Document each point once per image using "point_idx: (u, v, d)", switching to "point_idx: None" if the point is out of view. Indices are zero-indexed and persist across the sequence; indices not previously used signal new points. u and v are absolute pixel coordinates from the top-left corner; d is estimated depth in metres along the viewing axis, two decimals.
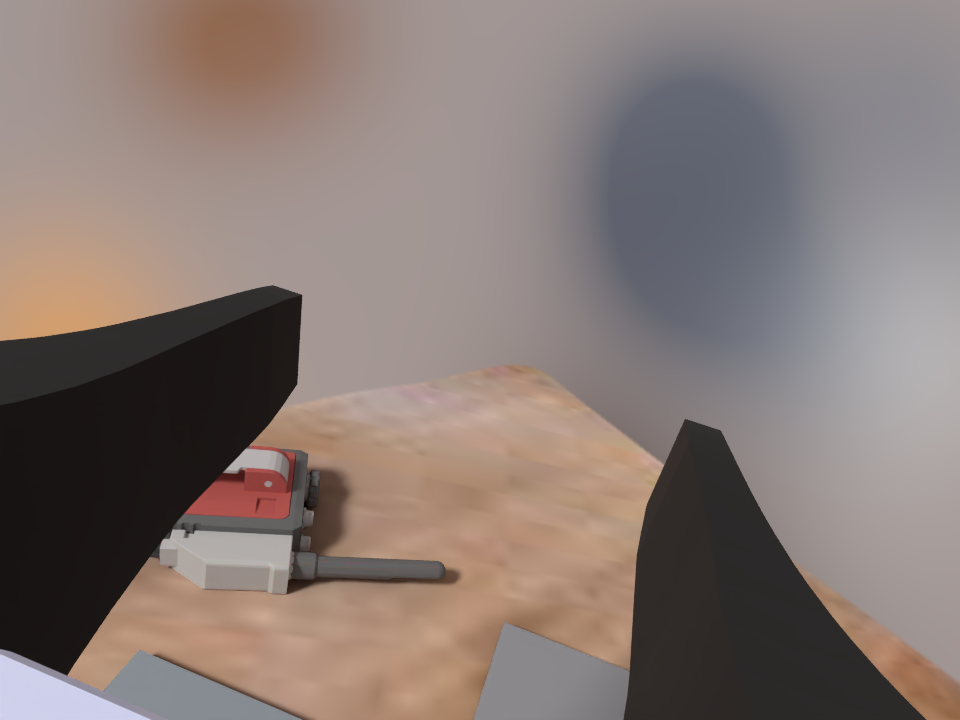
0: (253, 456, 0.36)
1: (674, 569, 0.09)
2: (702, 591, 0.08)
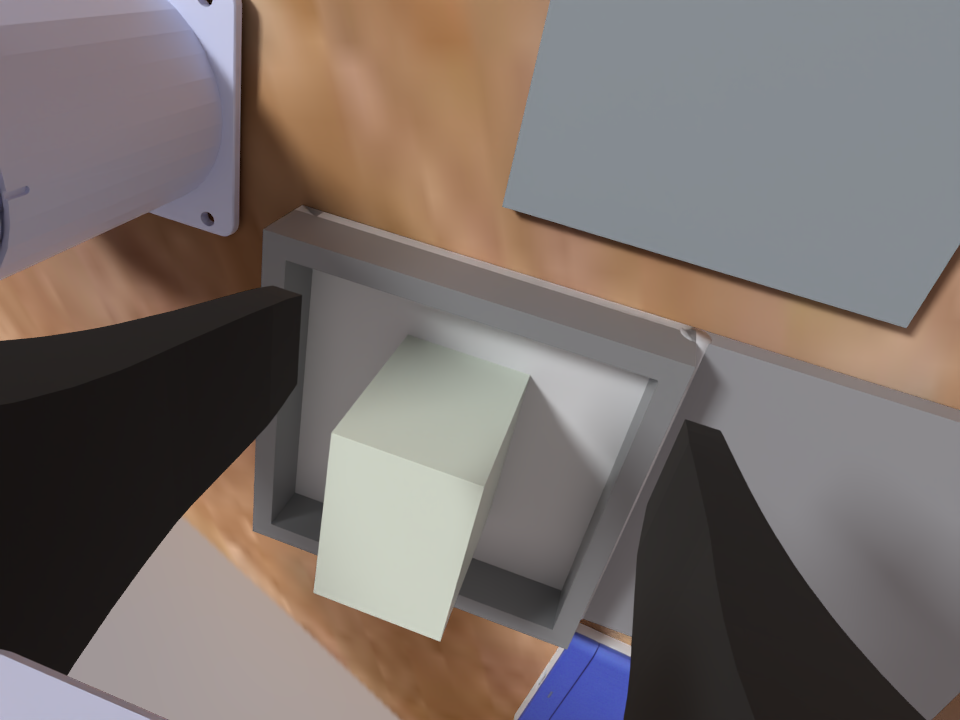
0: None
1: (674, 569, 0.09)
2: (702, 591, 0.08)
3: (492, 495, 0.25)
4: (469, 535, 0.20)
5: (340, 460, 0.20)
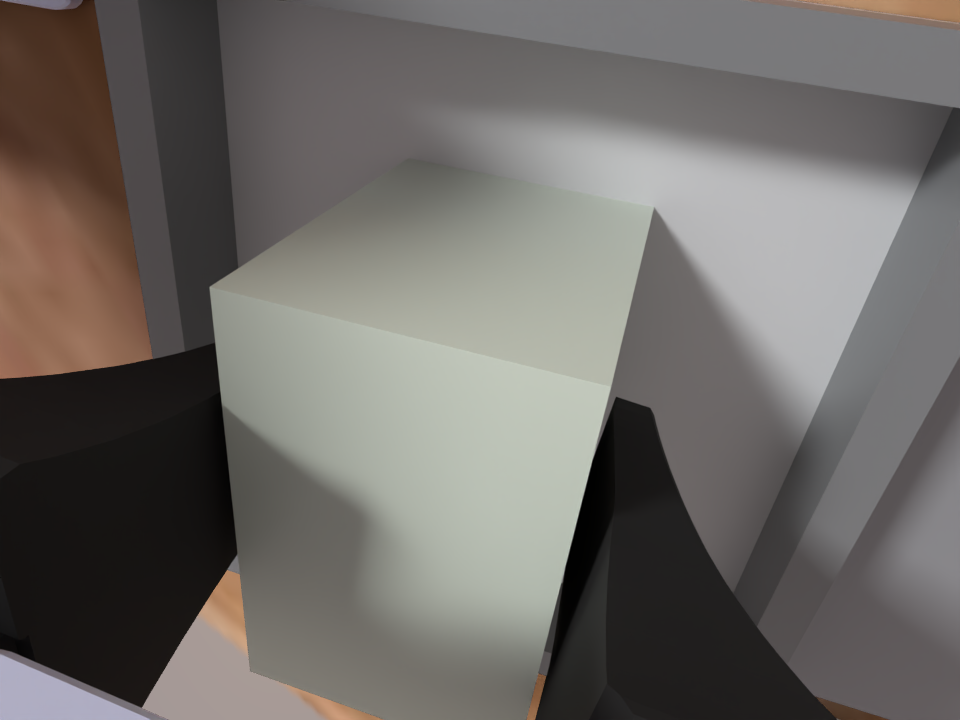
0: None
1: (590, 539, 0.10)
2: (602, 555, 0.08)
3: None
4: (573, 527, 0.08)
5: (243, 364, 0.08)
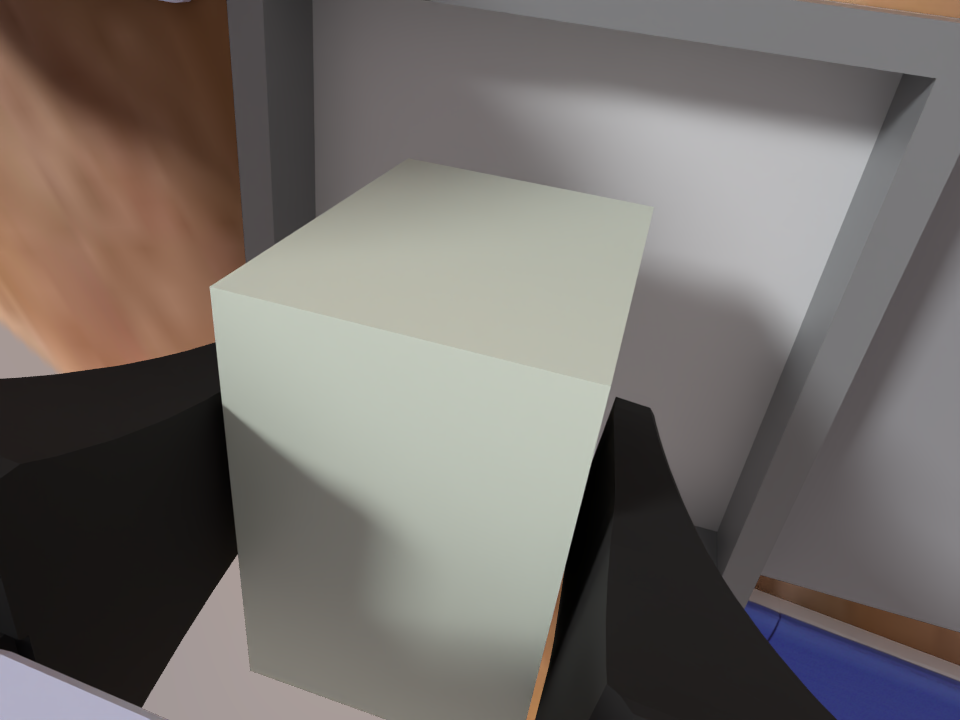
0: None
1: (590, 539, 0.10)
2: (602, 555, 0.08)
3: None
4: (572, 527, 0.08)
5: (243, 364, 0.08)
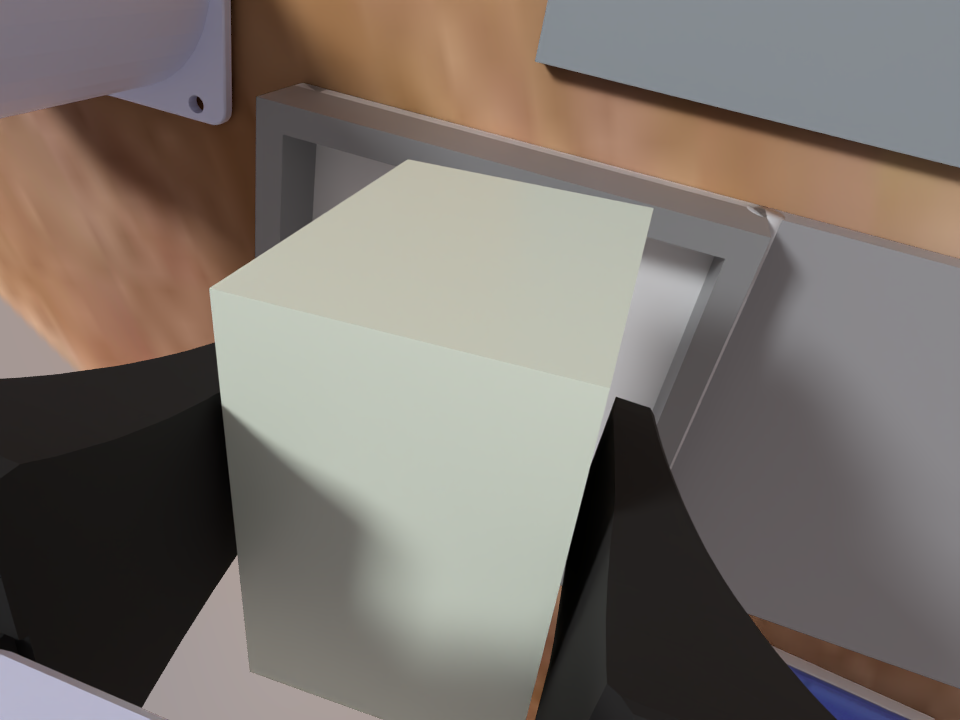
0: None
1: (590, 539, 0.10)
2: (602, 555, 0.08)
3: None
4: (572, 528, 0.08)
5: (243, 365, 0.08)
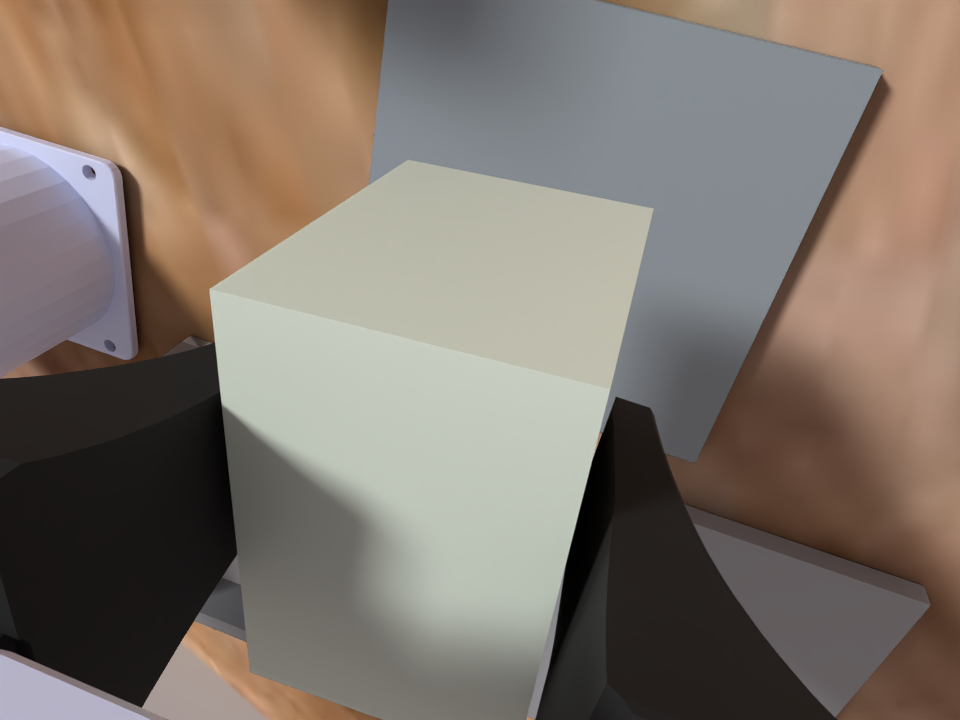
0: None
1: (590, 539, 0.10)
2: (602, 555, 0.08)
3: None
4: (572, 529, 0.08)
5: (243, 365, 0.08)
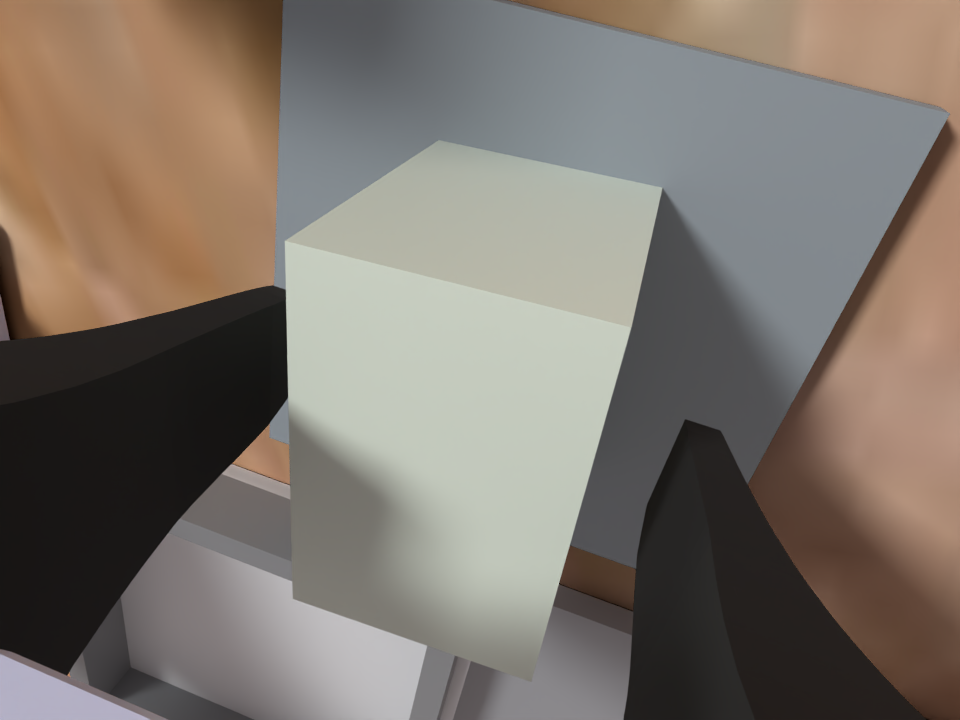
0: None
1: (674, 569, 0.09)
2: (702, 591, 0.08)
3: None
4: (593, 454, 0.09)
5: (309, 310, 0.09)
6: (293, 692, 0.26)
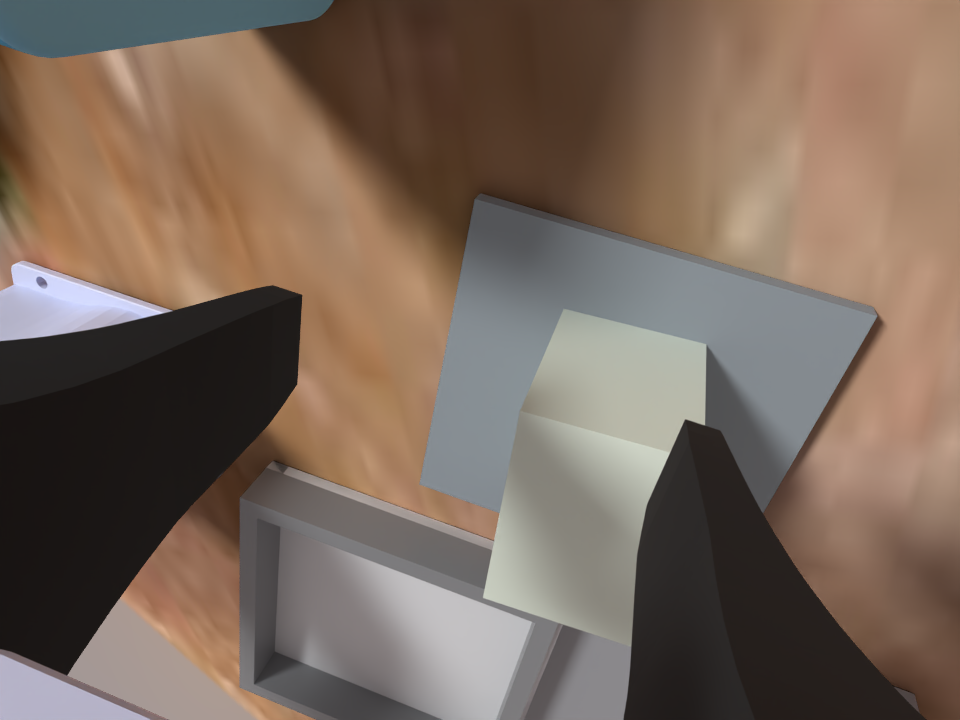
0: None
1: (674, 569, 0.09)
2: (702, 591, 0.08)
3: None
4: None
5: (527, 443, 0.17)
6: (409, 669, 0.34)
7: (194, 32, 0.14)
